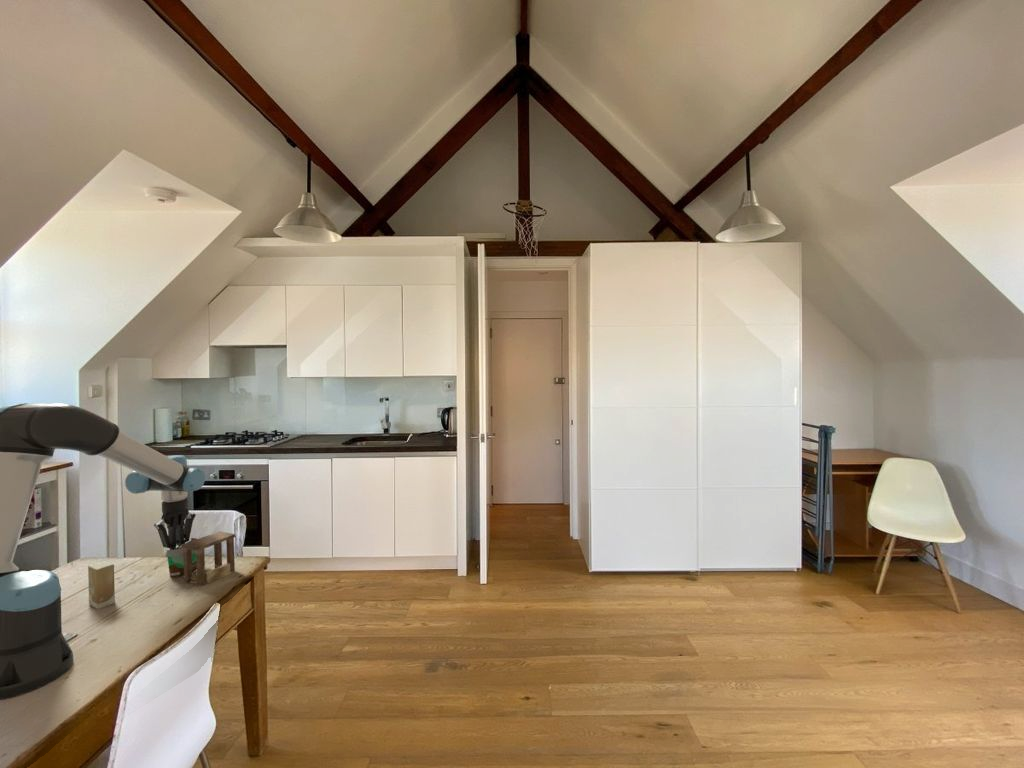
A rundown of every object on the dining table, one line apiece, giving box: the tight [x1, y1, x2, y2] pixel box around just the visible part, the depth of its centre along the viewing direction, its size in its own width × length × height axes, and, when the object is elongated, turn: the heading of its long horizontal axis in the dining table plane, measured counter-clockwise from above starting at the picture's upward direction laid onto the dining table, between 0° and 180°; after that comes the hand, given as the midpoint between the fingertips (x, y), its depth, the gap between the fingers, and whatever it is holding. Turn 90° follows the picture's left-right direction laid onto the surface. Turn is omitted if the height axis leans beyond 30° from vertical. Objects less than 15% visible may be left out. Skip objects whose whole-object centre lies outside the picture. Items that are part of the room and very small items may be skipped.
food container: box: [165, 537, 198, 579], centre depth 158 cm, size 12×6×10 cm, turn 179°
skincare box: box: [87, 560, 116, 610], centre depth 136 cm, size 6×4×12 cm
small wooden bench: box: [182, 531, 236, 587], centre depth 154 cm, size 13×8×13 cm, turn 159°
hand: (177, 564), depth 160 cm, fingers closed
